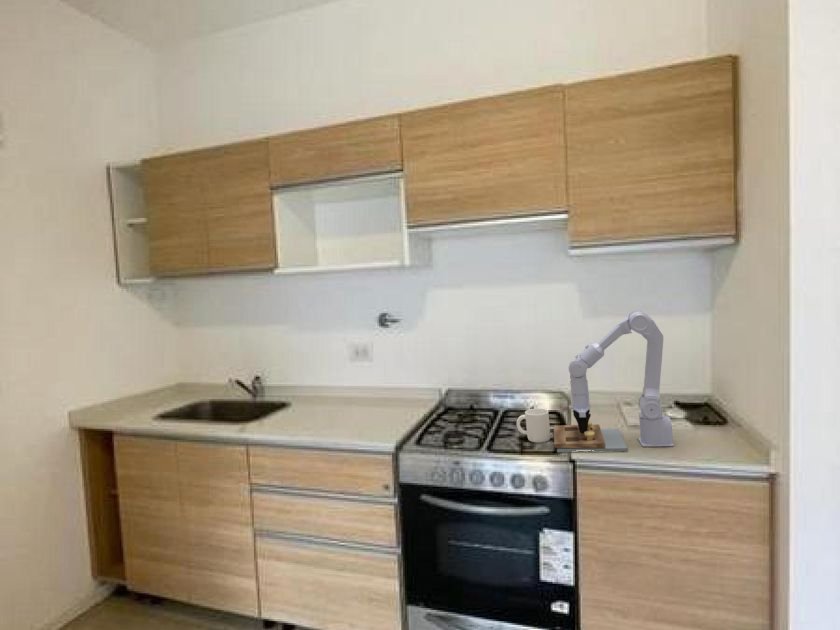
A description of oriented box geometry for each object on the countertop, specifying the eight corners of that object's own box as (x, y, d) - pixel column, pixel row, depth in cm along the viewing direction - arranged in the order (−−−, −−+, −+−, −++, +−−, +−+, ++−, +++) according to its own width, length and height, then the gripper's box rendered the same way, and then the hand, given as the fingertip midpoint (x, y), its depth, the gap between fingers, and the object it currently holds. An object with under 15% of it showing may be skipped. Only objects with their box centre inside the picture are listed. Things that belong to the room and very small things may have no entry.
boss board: (619, 431, 173) (618, 417, 173) (627, 451, 154) (626, 436, 153) (556, 433, 179) (555, 419, 178) (557, 452, 160) (555, 437, 159)
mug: (515, 442, 174) (512, 414, 174) (520, 434, 182) (518, 408, 181) (548, 443, 169) (545, 415, 168) (552, 435, 176) (550, 408, 176)
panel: (599, 428, 175) (598, 413, 174) (605, 447, 155) (604, 431, 155) (554, 429, 179) (552, 415, 179) (554, 448, 160) (553, 432, 159)
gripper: (567, 389, 174) (570, 425, 175) (568, 399, 160) (572, 438, 161) (587, 388, 172) (590, 425, 173) (590, 398, 158) (594, 438, 159)
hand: (583, 431), depth 166 cm, fingers closed on panel, 2 cm apart
